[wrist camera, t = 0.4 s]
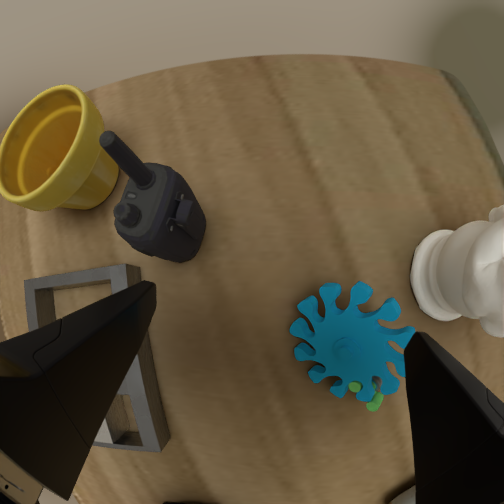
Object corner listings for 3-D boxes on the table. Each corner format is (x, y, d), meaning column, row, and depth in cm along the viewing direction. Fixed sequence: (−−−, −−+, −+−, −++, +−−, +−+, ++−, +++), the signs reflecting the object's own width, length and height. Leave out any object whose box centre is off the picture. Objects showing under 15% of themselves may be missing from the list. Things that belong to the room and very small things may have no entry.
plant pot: (42, 217, 26) (-20, 192, 16) (75, 132, 27) (28, 86, 17) (114, 240, 25) (49, 213, 15) (150, 139, 26) (110, 80, 17)
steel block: (130, 426, 23) (112, 443, 19) (97, 424, 23) (77, 438, 19) (120, 389, 23) (100, 402, 19) (87, 388, 23) (65, 398, 19)
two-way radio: (177, 199, 25) (97, 101, 10) (225, 211, 25) (184, 109, 10) (158, 260, 25) (46, 217, 10) (206, 274, 24) (131, 245, 10)
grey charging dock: (170, 437, 22) (161, 452, 19) (70, 428, 22) (55, 438, 19) (139, 267, 25) (125, 263, 22) (42, 282, 25) (24, 280, 22)
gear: (267, 302, 22) (390, 270, 15) (305, 277, 27) (408, 245, 20) (313, 414, 22) (425, 414, 15) (342, 377, 27) (438, 367, 20)
